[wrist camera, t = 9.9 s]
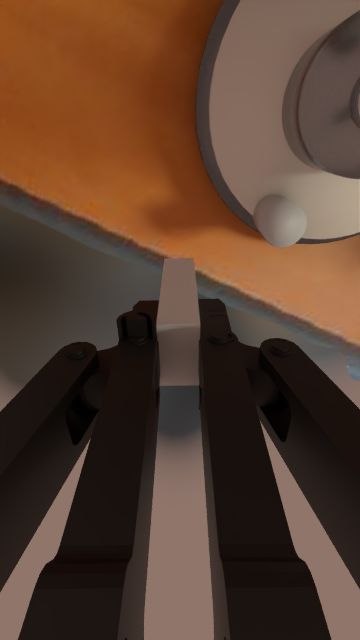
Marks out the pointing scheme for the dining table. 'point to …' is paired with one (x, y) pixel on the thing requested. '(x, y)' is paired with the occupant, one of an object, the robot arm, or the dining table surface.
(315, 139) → the cover
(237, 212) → the plinth
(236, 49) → the turntable
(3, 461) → the robot arm
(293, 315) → the dining table surface
